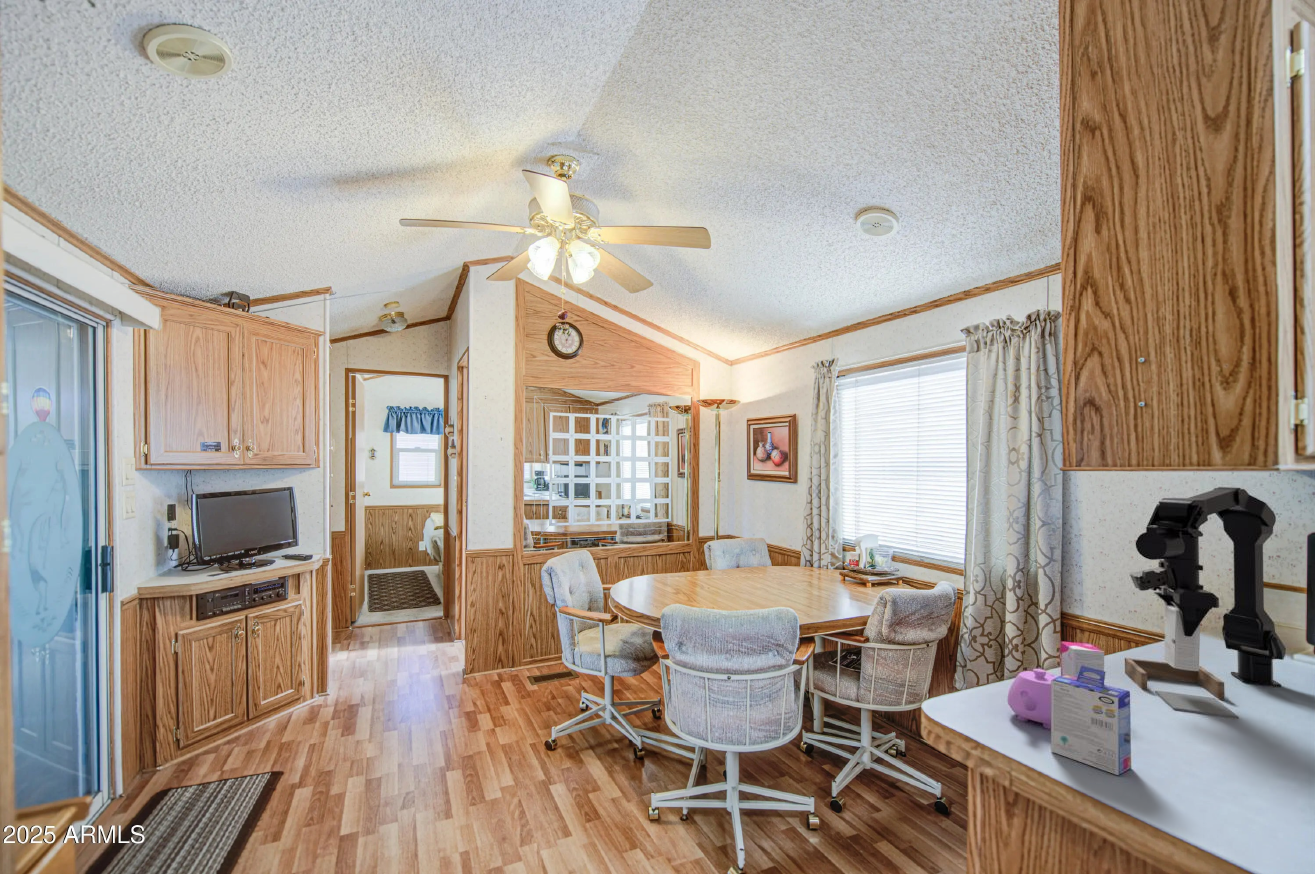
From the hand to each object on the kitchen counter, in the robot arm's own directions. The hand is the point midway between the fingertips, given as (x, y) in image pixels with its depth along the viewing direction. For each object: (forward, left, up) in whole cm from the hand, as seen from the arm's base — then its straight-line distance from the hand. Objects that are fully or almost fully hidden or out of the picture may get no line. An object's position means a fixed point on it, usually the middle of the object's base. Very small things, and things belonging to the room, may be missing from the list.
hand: (1182, 632), depth 128 cm
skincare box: (0, 0, -7) cm, 7 cm away
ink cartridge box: (+41, -26, -14) cm, 50 cm away
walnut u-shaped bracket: (-7, 0, -13) cm, 15 cm away
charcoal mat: (+5, 0, -13) cm, 14 cm away
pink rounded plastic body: (+27, -31, -14) cm, 43 cm away
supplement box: (+13, -21, -14) cm, 28 cm away
